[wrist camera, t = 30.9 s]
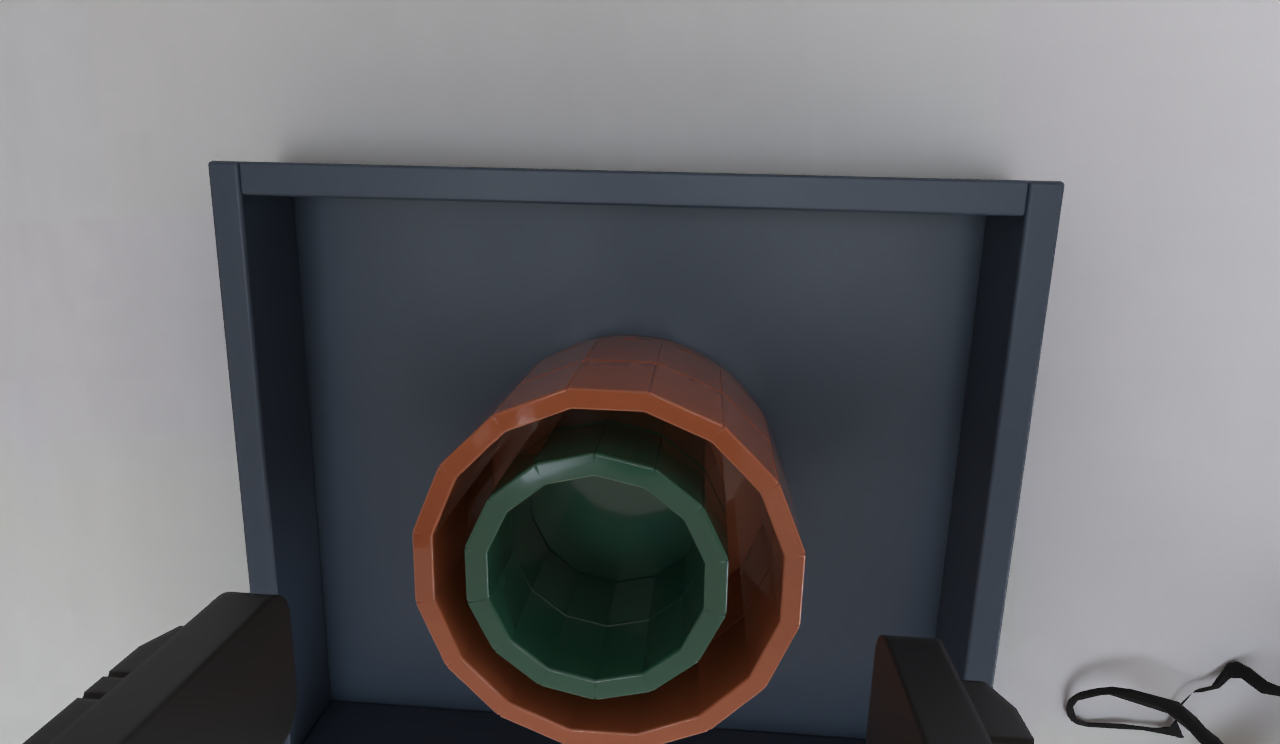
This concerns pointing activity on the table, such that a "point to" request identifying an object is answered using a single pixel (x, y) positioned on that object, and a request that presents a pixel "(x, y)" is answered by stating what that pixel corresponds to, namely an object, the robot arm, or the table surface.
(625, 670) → the small bowl
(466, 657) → the big bowl
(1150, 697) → the creature
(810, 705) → the tray
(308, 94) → the table surface
